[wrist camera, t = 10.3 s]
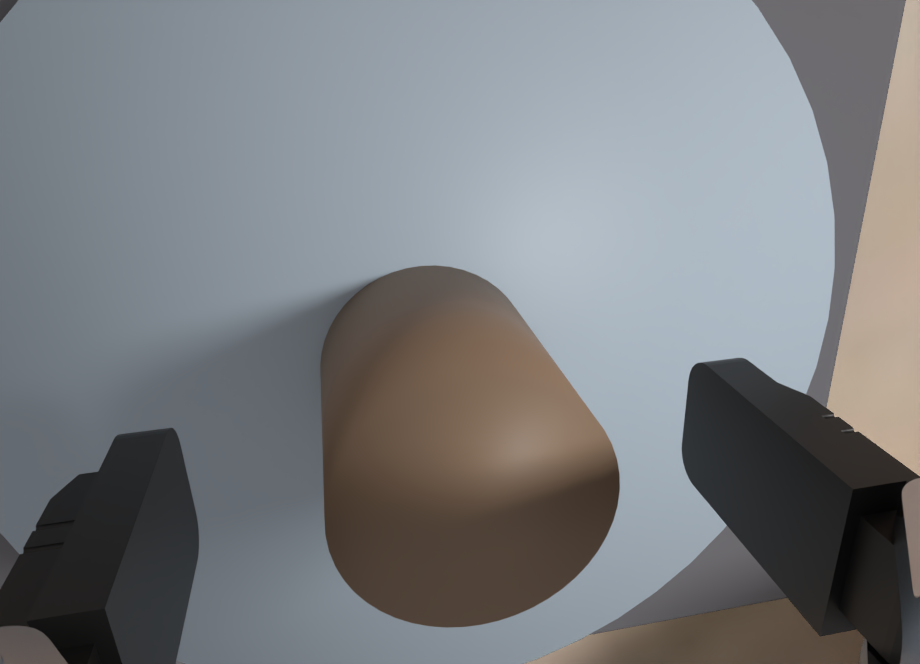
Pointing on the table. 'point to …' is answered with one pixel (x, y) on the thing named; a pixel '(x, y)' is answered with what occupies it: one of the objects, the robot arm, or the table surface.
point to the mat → (850, 169)
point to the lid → (401, 296)
